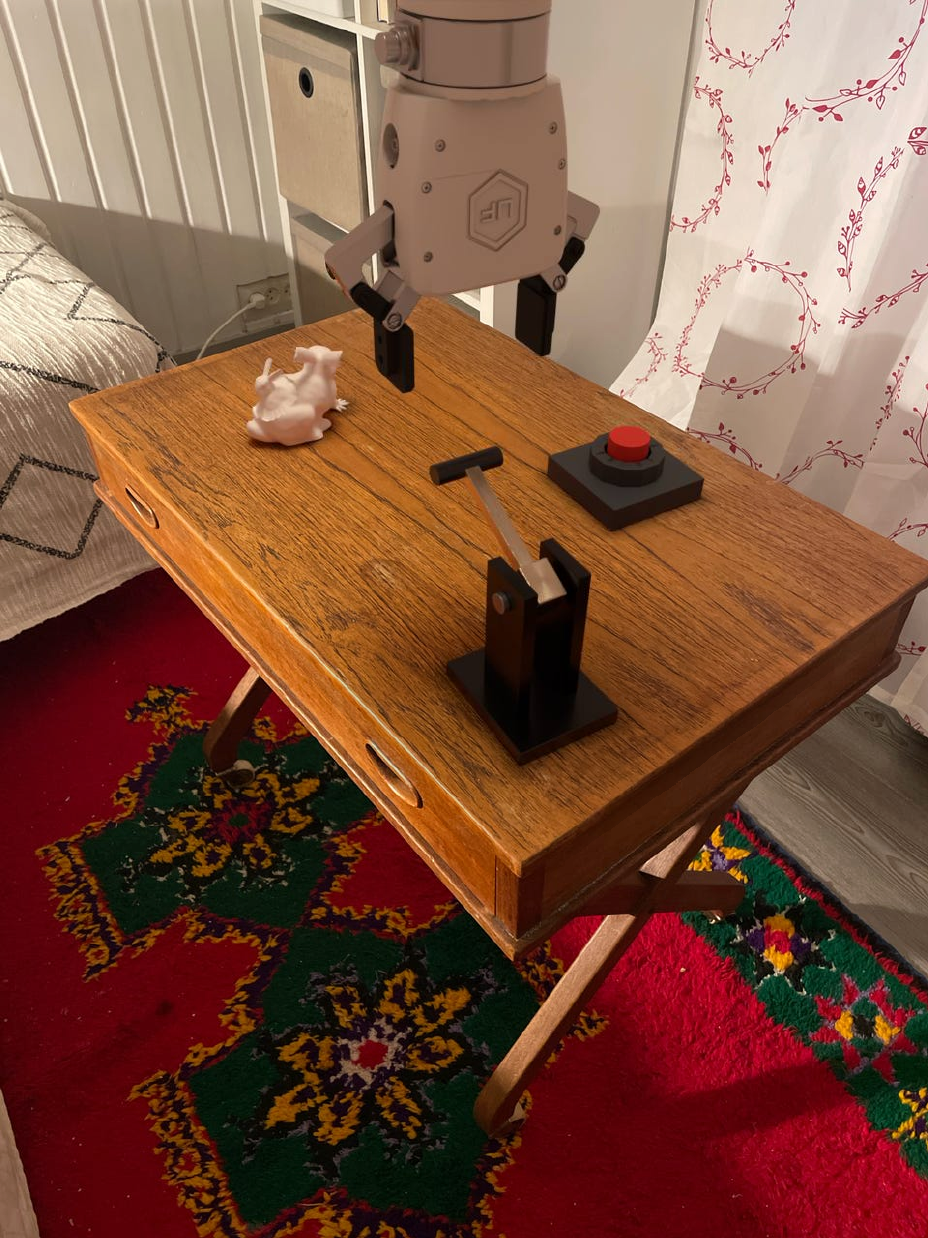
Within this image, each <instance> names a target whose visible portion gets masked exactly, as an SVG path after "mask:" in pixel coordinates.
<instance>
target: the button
mask: <svg viewBox="0 0 928 1238" xmlns="http://www.w3.org/2000/svg"><path fill="white" fill-rule="evenodd" d="M609 432H610V433H609V440H608V448H607V453H608V455H609V456H610V457H611V458H613V459H615V460H619V461H622V462H640V461H643V460H645V459H646V458H647V456H648V450H649V443H650V436H651V435H650V433H649V432H648V431H646V430H645V429H643V428H641V427H637V426H634V425H621V426H616V427H614V428H613V429H611V430H610V431H609Z"/></svg>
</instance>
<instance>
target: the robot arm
mask: <svg viewBox="0 0 928 1238" xmlns="http://www.w3.org/2000/svg"><path fill="white" fill-rule="evenodd" d="M396 5H397V7H396V8H397V9H394V11H393V12H394V13H393V18H394V21H393V23H394V27H391V28H390V29H389V30H388V31H382V32H377V33H376V34H375V37H374V53H375V56H376V60H377V61H378V63H379V64H380V65H390V64H392V65H393V66H395V70H396V71H398V78H395V79H390V81H389V82H388V85H387V90H386V96H385V102H384V108H383V114H382V121H381V129H380V140H379V149H378V162H377V163H378V165H377V183H376V184H377V185H376V186H377V187H376V211H374V212H373V213H372V214H370V215H369V216H367V218H365V219H364V220H363V221H362V222H360V223H359V224H358V225H356V226H355V227H354V228H352V230H350V231H349V232H348V233H346V235H344V236H342V237H341V238H340V239H339V240H338V241H336V242H335V243H334V244H332V246H330V247H329V248H328V249H327V250H326V251H325V253H324V255H323V257H324V258H323V259H324V261H325V262H324V263H325V264H326V266H327V267H328V269H329V270H330V272H331V274H332V276H333V277H334V279H335V280H336V282H337V284H338V285H339V286H340V288H341V290H342V293H343V294H344V296H346V297H347V298H348V299H349V300H351V302H352V303H354V304H355V305H357V306H358V307H359V308H360V309H361V310H363V311H364V312H365V313H366V314H367V315H369V316H370V317H371V318H372V321H373V323H372V324H373V341H374V342H373V343H374V345H373V346H374V362H375V367H376V369H377V371H378V372H379V374H380V375H381V376H383V378H386V380H387V381H388V382H390V384H392V385H393V386H394V387H395V388H396V389H397V390H398V391H399V392H400V393H401V394H407V393H411V392H412V391H413V390H414V389H415V386H416V385H415V384H416V383H415V382H416V381H415V378H416V377H415V335H414V330H413V329H412V327H411V326H410V325H408V324H407V323H406V321H407V320H408V318H409V316H411V314H412V312H413V311H414V309H415V308H416V306H417V304H418V303H419V301H420V300H421V298H422V297H426V298H440V297H446V296H447V297H448V296H452V295H457V294H462V293H466V292H472V291H475V290H479V289H483V288H488V287H493V286H497V285H501V284H505V283H510V282H514V281H515V282H516V281H518V280H519V281H518V283H517V288H516V304H515V305H516V307H515V326H514V337H515V339H516V341H518V342H519V343H521V344H522V345H523V346H525V347H526V348H528V349H529V350H530V351H532V352H533V353H535V354H536V355H537V356H539V357H541V358H542V357H546V356H549V355H551V353H552V342H553V333H554V331H555V323H556V322H555V321H556V311H557V299H558V293H561V292H562V291H563V290H565V288H566V287H567V285H568V282H569V281H568V279H569V278H568V275H569V273H570V272H571V271H572V269H573V268H574V267H575V266H576V264H577V263H578V262H579V260H581V258H582V257H583V255H584V254H585V250H586V244H585V242H586V241H587V240H588V239H589V237H590V235H591V233H592V231H593V229H594V227H595V225H596V223H597V221H598V218H599V216H600V213H601V208H600V206H599V205H598V204H596V203H595V202H593V201H591V200H588V199H587V198H585V197H582V196H581V195H580V194H576V193H575V192H572V191H570V190H569V189H568V183H569V181H568V178H569V176H568V173H569V172H568V171H569V170H568V169H569V167H568V166H569V165H568V163H569V162H568V137H567V136H568V135H567V124H566V123H567V122H566V115H565V106H564V97H563V91H562V90H563V89H562V83H561V79H560V78H559V76H557V75H555V74H552V73H549V72H548V70H549V69H548V67H549V53H550V52H549V51H550V39H551V38H550V37H551V24H552V23H551V22H552V5H553V0H396ZM375 254H378V257H379V261H380V264H381V266H382V267H383V270H381V273H380V274H379V276H378V277H377V279H376V280H375V282H374V284H373V285H372V286H370V284H369V283H368V281H367V279H366V276H365V275H364V273H363V266H364V264H365V263H366V262H367V261H368V260H369V259H371V258H372V257H373V256H374V255H375Z"/></svg>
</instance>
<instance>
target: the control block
mask: <svg viewBox="0 0 928 1238" xmlns="http://www.w3.org/2000/svg"><path fill="white" fill-rule="evenodd" d="M610 432H611V431H609V432H605V433H602V434H599V435H597V437H596V438H595V439H594V440H593V441H590V442H587V443H584V444H581V445H577V446H574V447H571V448H568V449H565V450H562V451H559V452H556V453H552V454H550V455H549V454H548V456H547V457H548V458H547V461H548V462H547V471H546V472H547V473H546V477H548V478H549V479H550V480H551V481H553V482H554V483H555V484H556V485H557V486H558V487H559V488H561V489H562V490H563V491H564V492H565V493H566V494H567V495H569V496H570V497H571V498H572V499H573V500H575V502H577V503H578V504H579V505H581V506H582V507H583V508H584V509H585V510H586V511H587V512H588V513H590V515H592V516H593V517H595V518H596V519H597V521H599V522H601V524H603V526H605V527H606V528H607V529H608V530H609V531H610V532H614V531H616V530H619V529H622V528H624V527H627V526H630V525H632V524H635V523H638V522H641V521H643V520H646V519H648V518H652V517H654V516H656V515H659V514H662V513H665V512H668V511H670V510H673V509H676V508H678V507H682V506H684V505H687V504H690V503H692V502H695V501H697V500H700V499H701V497H702V492H703V488H704V483H705V477H703V475H701V474H699V473H698V472H696V471H695V470H694V469H692V467H690V466H689V465H687V464H686V463H684V462H683V461H681V460H680V459H679V458H677V457H676V456H674V454H672V453H670V452H669V451H668V450H666V449H665V448H664V445H663V444H662V443H661V442H660V441H658V440H657V439H656V438H654V437H652V435H650V443H649V450H648V456H647V458H646V459H645V460H643V461H640V462H622V461H619V460H615V459H613V458H611V457H610V456H609V455H608V453H607V448H608V440H609V433H610Z"/></svg>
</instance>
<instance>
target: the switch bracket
mask: <svg viewBox="0 0 928 1238" xmlns="http://www.w3.org/2000/svg"><path fill="white" fill-rule="evenodd" d="M543 558H547V559H548V561H549V562H550V564H551V566H552V567H553V569H554V571H555V573H556V574H557V576H558V578H559V579H560V581H561V583H562V584H563V586H564V588H565V590H566V591H567V594H566V596H565V597H564V599H563V600H562V602H561V603H560V605H559V606H558V607H557V609H556V610H554V611H551V612H549V613H546V614H543V615H541V616H538V617H537V606H538V593H537V592H536V591H535V590H534V589H533V588H532V587H531V586H530V585H529V584H528V583H527V582H526V581H525V580H524V579H523V578H522V577H521V576H520V575H519V574H518V573H517V572H516V571H515V570H514V568H513V567H512V565H511V564H509V563H508V562H507V561H506V560H505V559H504V558H503V557H502V556H501V555H499V556H496V557H494V558H491V559H488V560H487V567H486V568H487V569H486V597H485V598H486V599H485V627H484V628H485V629H484V630H485V631H484V632H485V633H484V646H483V647H481V648H477V649H475V650H473V651H470V652H468V653H466V654H463V655H461V656H458V657H455V658H453V659H450V660H447V661H446V662H445V674H446V676H447V677H448V678H449V679H450V681H451V682H452V683H453V684H454V686H456V688H457V689H458V690H459V692H460V693H461V694H462V695H463V697H464V698H465V699H466V700H467V702H468V703H469V704H470V705H471V707H472V708H473V709H474V710H475V711H476V713H477V714H478V715H479V716H480V718H481V719H482V720H483V721H484V722H485V724H486V725H487V727H488V728H489V729H490V731H492V733H493V734H494V735H495V736H496V738H497V739H498V740H499V742H500V743H501V744H502V745H503V746H504V748H505V749H506V750H507V751H508V753H509V754H510V755H511V756H512V757H513V759H514V760H515V762H517V764H518V765H519V766H523V765H525V764H527V763H529V762H532V761H534V760H536V759H538V758H540V757H542V756H545V755H547V754H549V753H551V752H553V751H555V750H557V749H560V748H562V747H564V746H567V745H568V744H570V743H572V742H575V741H578V740H579V739H581V738H583V737H587V736H588V735H589V734H592V733H595V732H597V731H599V730H601V729H603V728H606V727H607V726H610V725H612V724H614V723H616V722H618V716H619V708H618V707H617V706H616V705H615V704H614V703H613V702H612V701H611V700H610V699H609V698H608V697H607V696H606V695H605V694H604V692H602V690H601V689H600V688H599V687H598V686H596V684H595V683H594V682H593V681H592V680H591V679H590V678H589V677H588V676H587V675H586V674H585V673H584V672H583V671H582V669H581V662H582V656H583V655H582V654H583V648H584V647H583V645H584V640H585V639H584V638H585V632H586V631H585V630H586V622H587V614H588V608H589V607H588V605H589V598H590V590H591V581H592V572H590V571H589V570H588V569H587V568H586V567H585V566H584V565H583V564H582V563H581V562H580V561H579V560H578V559H576V558H575V557H574V556H573V555H572V554H571V553H570V552H569V551H568V550H567V549H566V548H565V547H563V546H562V545H561V544H560V543H559V542H558V541H557V540H556V539H555V538H553V537H550V538H547V539H544V540H542V541H540V542H539V555H538V560H541V559H543Z"/></svg>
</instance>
